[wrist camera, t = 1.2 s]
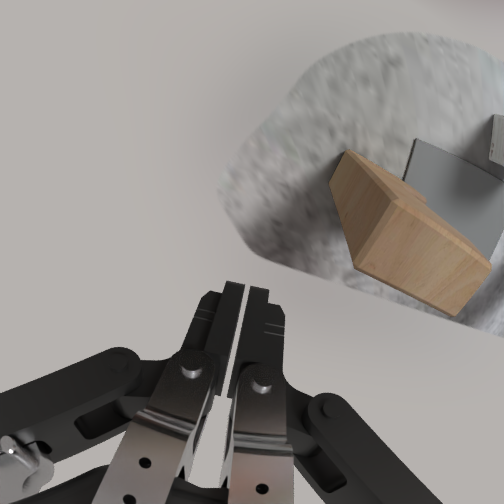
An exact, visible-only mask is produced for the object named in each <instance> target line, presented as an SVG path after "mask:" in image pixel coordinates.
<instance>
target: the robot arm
mask: <svg viewBox="0 0 504 504" xmlns="http://www.w3.org/2000/svg"><path fill="white" fill-rule="evenodd" d="M244 288H245V285H244V284H239V283H235V282H231V281H226V284H225V287H224V290H223V293H218V292H214V291H209V292H208V293H207V294H206V295H204V296H203V297H202V298H201V300H200V302H199V305H198V307H197V310H196V312H195V315H194V318H193V319H192V322H191V324H190V327H189V329H188V332H187V334H186V337H185V340H184V342H183V345H182V347H181V349H180V350H179V351H178V352H176V353H175V354H173V355H172V357H170V358H168V359H165V360H158V361H155V360H154V361H153V360H140V358H139V356H138V355H137V354H136V353H135V352H134V351H132V350H130V349H128V348H124V347H114V348H110V349H108V350H105V351H103V352H101V353H98V354H96V355H94V356H91V357H89V358H87V359H84V360H82V361H80V362H77V363H75V364H72V365H70V366H68V367H65V368H63V369H60V370H58V371H55V372H53V373H51V374H48V375H46V376H43V377H41V378H38V379H36V380H33V381H31V382H28V383H26V384H23V385H21V386H18V387H16V388H13V389H10V390H8V391H5V392H2V393H0V504H294V466H293V465H295V467H296V468H297V469H298V471H299V472H300V473H301V474H302V476H303V477H304V478H305V479H306V481H307V482H308V483H309V484H310V486H311V487H312V488H313V489H314V491H315V492H316V493H317V494H318V495H319V496H320V498H321V499H322V500H323V501H324V502H325V504H443V503H442V502H441V501H440V500H439V499H438V498H437V497H436V496H435V495H434V494H432V492H431V491H430V490H429V489H428V488H427V487H426V486H425V485H424V484H423V483H422V482H421V481H420V480H419V479H418V478H417V477H416V476H415V475H414V474H413V473H412V472H411V471H410V470H409V468H408V467H407V466H406V465H405V464H404V463H403V462H402V461H401V460H400V459H399V458H398V457H397V456H396V455H395V454H394V453H393V452H392V450H391V449H390V448H389V447H387V445H386V444H385V443H384V442H383V441H382V440H381V439H380V438H379V437H378V435H377V434H376V433H375V432H374V431H373V430H372V429H371V428H370V427H369V426H368V425H367V423H365V421H364V420H363V419H362V418H361V417H360V416H359V415H358V414H357V413H356V411H355V410H354V409H353V408H352V407H351V406H350V405H349V404H348V403H347V401H345V400H344V399H343V398H342V397H340V396H339V395H336V394H333V393H321V394H318V395H316V396H315V397H312V396H309V395H307V394H305V393H302V392H300V391H298V390H296V389H295V388H293V387H292V386H291V385H290V384H289V383H288V382H287V381H286V379H285V377H284V375H283V350H284V329H285V328H284V327H285V314H284V312H283V310H282V308H281V307H280V305H275V304H270V303H268V297H269V290H268V289H264V288H259V287H254V286H250V291H249V295H248V300H247V304H246V309H245V314H244V318H243V323H242V328H241V332H240V337H239V342H238V346H237V351H236V356H235V361H234V366H233V370H232V375H231V380H230V384H229V389H228V394H227V398H232V404H231V409H230V413H229V417H228V424H227V432H226V440H225V448H224V457H223V465H222V470H221V475H220V482H219V488H200V487H198V486H196V485H193V484H191V483H189V482H187V481H188V478H189V475H190V472H191V468H192V464H193V460H194V456H195V453H196V450H197V447H198V444H199V441H200V439H201V436H202V432H203V430H204V427H205V424H206V421H207V418H208V414H209V412H210V410H211V407H212V404H213V399H214V396H215V395H218V396H221V392H222V388H223V384H224V379H225V375H226V371H227V366H228V362H229V358H230V353H231V349H232V344H233V340H234V336H235V331H236V327H237V322H238V317H239V313H240V308H241V302H242V298H243V293H244ZM124 431H126V432H125V435H124V436H123V438H122V441H121V442H120V445H119V447H118V449H117V451H116V453H115V455H114V457H113V459H112V461H111V463H110V465H104V466H100V467H97V468H94V469H92V470H90V471H88V472H86V473H83V474H81V475H79V476H77V477H75V478H73V479H70V480H68V481H66V482H64V483H61V484H59V485H57V486H55V487H52V488H50V489H47V490H45V491H42V492H40V493H39V490H40V489H41V487H42V486H43V485H45V484H46V483H48V482H49V481H50V480H51V479H52V477H53V474H54V465H53V464H54V463H56V462H59V461H61V460H64V459H66V458H69V457H71V456H73V455H76V454H78V453H80V452H82V451H84V450H87V449H89V448H91V447H93V446H95V445H97V444H100V443H102V442H104V441H106V440H108V439H110V438H112V437H114V436H116V435H118V434H120V433H122V432H124Z"/></svg>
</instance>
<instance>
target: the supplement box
mask: <svg viewBox="0 0 504 504" xmlns="http://www.w3.org/2000/svg"><path fill="white" fill-rule="evenodd" d="M489 160H491V161H493V162H495V163H497V164H499V165H502V166H504V116H502V115H497V114H494V120H493V129H492V137H491V145H490V152H489Z"/></svg>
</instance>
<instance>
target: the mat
mask: <svg viewBox="0 0 504 504" xmlns="http://www.w3.org/2000/svg"><path fill="white" fill-rule="evenodd" d="M403 181H404V182H405V183H407V184H408V185H410V186H411V187H413V188H414V189H416V190H417V191H418V192H419V193H420V194H421V195H423V196H424V197H425V198H426V200H427V203H426V204H425V205H426V206H427V207H429V208H430V209H431V210H432V211H434V212H435V213H436V214H437V215H439V216H440V217H441V218H442V219H444V220H445V221H446V222H447V223H449V224H450V225H451V226H452V227H454V228H455V229H456V230H457V231H459V232H460V233H461V234H462V235H464V236H465V237H466V238H467V239H469V240H470V241H471V242H472V243H473V244H474V245H475V247H476V248H477V249H478V250H479V251H480V252H481V253H482V254H483V255H484V256H485V258H486V259H487V260H488V261H489V260H490V258H491V256H492V254H493V252H494V250H495V248H496V245H497V243H498V241H499V239H500V237H501V234H502V232H503V230H504V182H503V181H501V180H499V179H498V178H496V177H494V176H492V175H491V174H489V173H487V172H485V171H484V170H482V169H480V168H478V167H476V166H474V165H472V164H471V163H469V162H467V161H465V160H463V159H461V158H459V157H457V156H455V155H453V154H450V153H448V152H446V151H444V150H442V149H440V148H438V147H435V146H433V145H431V144H429V143H426V142H424V141H421V140H419V139H417V138H416V140H415V143H414V147H413V151H412V154H411V158H410V161H409V164H408V168H407V171H406V174H405V177H404V180H403Z"/></svg>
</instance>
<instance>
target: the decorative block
mask: <svg viewBox="0 0 504 504" xmlns="http://www.w3.org/2000/svg"><path fill="white" fill-rule="evenodd" d="M328 184H329V187H330V190H331V193H332V196H333V199H334V202H335V205H336V208H337V211H338V214H339V217H340V221H341V224H342V227H343V231H344V234H345V238H346V241H347V244H348V248H349V251H350V255H351V258H352V262H353V266H354V269H356V270H358V271H360V272H362V273H364V274H366V275H368V276H370V277H372V278H374V279H376V280H378V281H381V282H383V283H385V284H387V285H389V286H391V287H393V288H395V289H397V290H399V291H401V292H403V293H405V294H407V295H409V296H411V297H413V298H415V299H417V300H419V301H421V302H423V303H425V304H427V305H429V306H431V307H433V308H435V309H437V310H439V311H441V312H442V313H444V314H446V315H448V316H450V317H455V316H456V315H457V314H458V313H459V311H460V310H461V309H462V308H463V307H464V306H465V304H466V303H467V302H468V301H469V299H470V298H471V297H472V296H473V294H474V293H475V292H476V291H477V289H478V288H479V287H480V285H481V284H482V283H483V281H484V280H485V279H486V277H487V276H488V275H489V273H490V272H491V268H492V264H491V263H490V262H489V261H488V260H487V259H486V258H485V256H484V255H483V254H482V253H481V252H480V251H479V250H478V249H477V248H476V247H475V245H474V244H473V243H472V242H471V241H470V240H469V239H467V238H466V237H465V236H464V235H462V234H461V233H460V232H459V231H457V230H456V229H455V228H454V227H452V226H451V225H450V224H449V223H447V222H446V221H445V220H444V219H442V218H441V217H440V216H439V215H437V214H436V213H435V212H434V211H432V210H431V209H430V208H429V207H427V206H426V205H425V204H426V203H427V200H426V198H425V197H424V196H423V195H421V194H420V193H419V192H418V191H417V190H416V189H414V188H413V187H411V186H410V185H408V184H407V183H405V182H404V181H402V180H401V179H399V178H397V177H396V176H394V175H393V174H391V173H389V172H388V171H386V170H385V169H383V168H381V167H380V166H378V165H376V164H374V163H373V162H371V161H369V160H368V159H366V158H364V157H362V156H360V155H359V154H357V153H355V152H353V151H351V150H350V149H349V150H346V151H345V153H344V155H343V156H342V158H341V160H340V162H339V164H338V166H337V168H336V170H335V172H334V174H333V176H332V178H331V179H330V181H329V183H328Z"/></svg>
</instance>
